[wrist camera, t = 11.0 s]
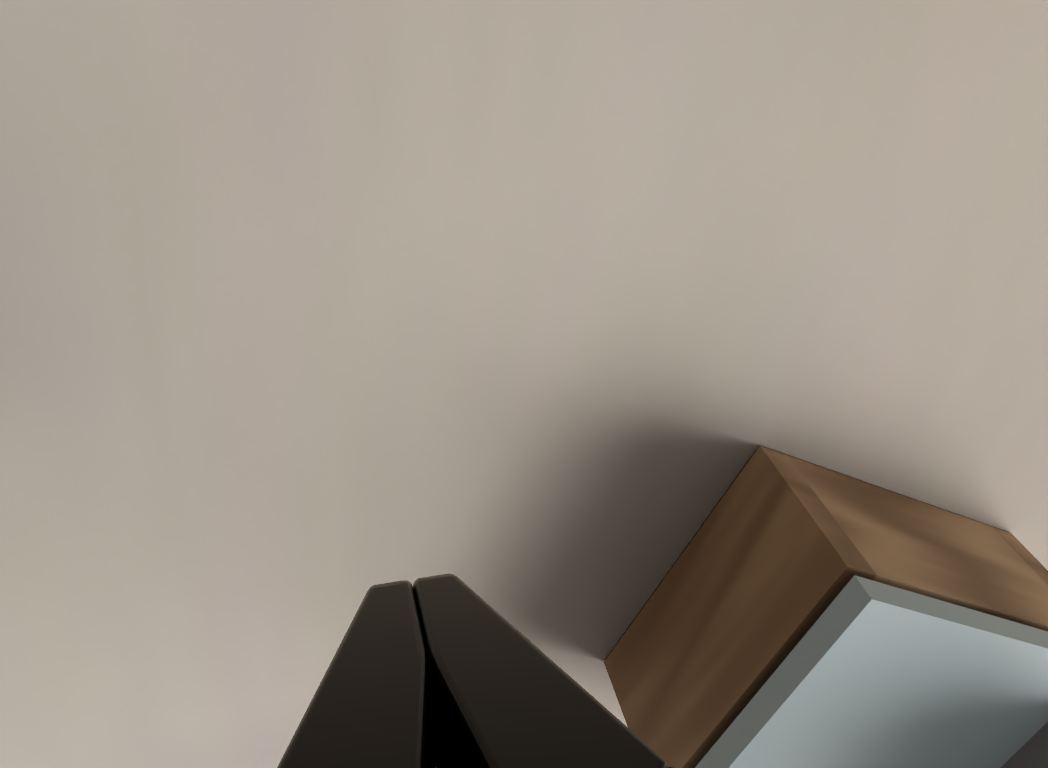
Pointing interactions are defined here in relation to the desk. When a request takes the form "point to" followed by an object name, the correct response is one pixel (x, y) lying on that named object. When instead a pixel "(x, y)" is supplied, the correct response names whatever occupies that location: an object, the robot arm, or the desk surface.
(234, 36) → the desk surface
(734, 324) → the desk surface
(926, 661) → the lid
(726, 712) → the box
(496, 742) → the robot arm
